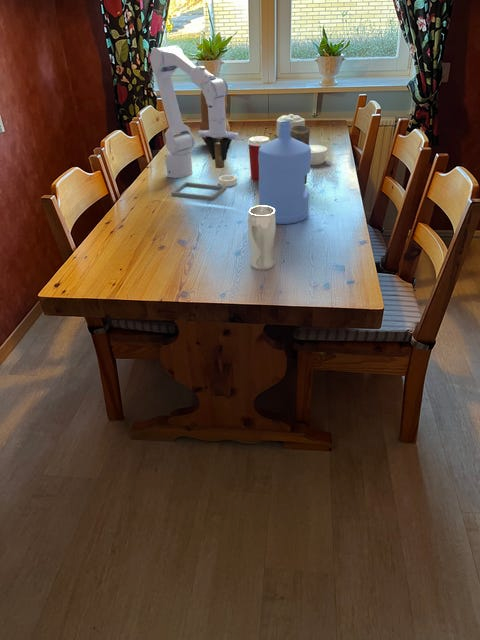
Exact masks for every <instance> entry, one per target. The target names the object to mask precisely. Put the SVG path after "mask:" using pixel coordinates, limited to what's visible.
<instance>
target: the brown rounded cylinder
mask: <svg viewBox="0 0 480 640" xmlns="http://www.w3.org/2000/svg"><path fill="white" fill-rule="evenodd" d="M310 133H311V129H310V128H309V127H308V126H306V125H305V126H301V125H300V126H293V127H291V131H290V136H291V137H292V138H294V139H296V140H298V141H301V142H303V143H305V144H307V145H310ZM307 179H308V174H307V175H306V176H305V185H306V184H307V182H308V181H307Z"/></svg>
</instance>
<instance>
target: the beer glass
mask: <svg viewBox="0 0 480 640" xmlns="http://www.w3.org/2000/svg"><path fill="white" fill-rule="evenodd" d="M247 218H248V219H247V227H248V229H247V230H248V232H247V233H248V236H249V241H250V242H249V243H250V246H251V260H250V266H251V267H252V268H253V269H254V270H260V271H263V270H264V271H265V270H270V269H271V268H272V267H274V265H275V262H274V261H275V260H274V257H273V248H274V243H275V239H276V238H275V237H276V233H277V224H276V217H275V209H274V208H272V207H270V206H259V205H255V206H252V207H250V208H249V209H248V216H247Z"/></svg>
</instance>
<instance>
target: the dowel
mask: <svg viewBox="0 0 480 640" xmlns="http://www.w3.org/2000/svg"><path fill="white" fill-rule="evenodd" d="M214 153H215V160H214V166H215V169H223V168H225V161H222V150H221V145H220V142H219V143H214Z"/></svg>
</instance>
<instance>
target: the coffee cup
mask: <svg viewBox="0 0 480 640" xmlns="http://www.w3.org/2000/svg"><path fill="white" fill-rule="evenodd" d="M270 141H271V140H270V138H269V137H268V136H264V135H261V136H260V135H257V136H252V137H249V139H248V141H247V145H248V152H249V154H248V155H249V164H250V165H249V167H250V177H251V180H252V181H258V182H259V163H258V155H259V148H260V147H261V146H262V145H264V144H266V143H268V142H270Z"/></svg>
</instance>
